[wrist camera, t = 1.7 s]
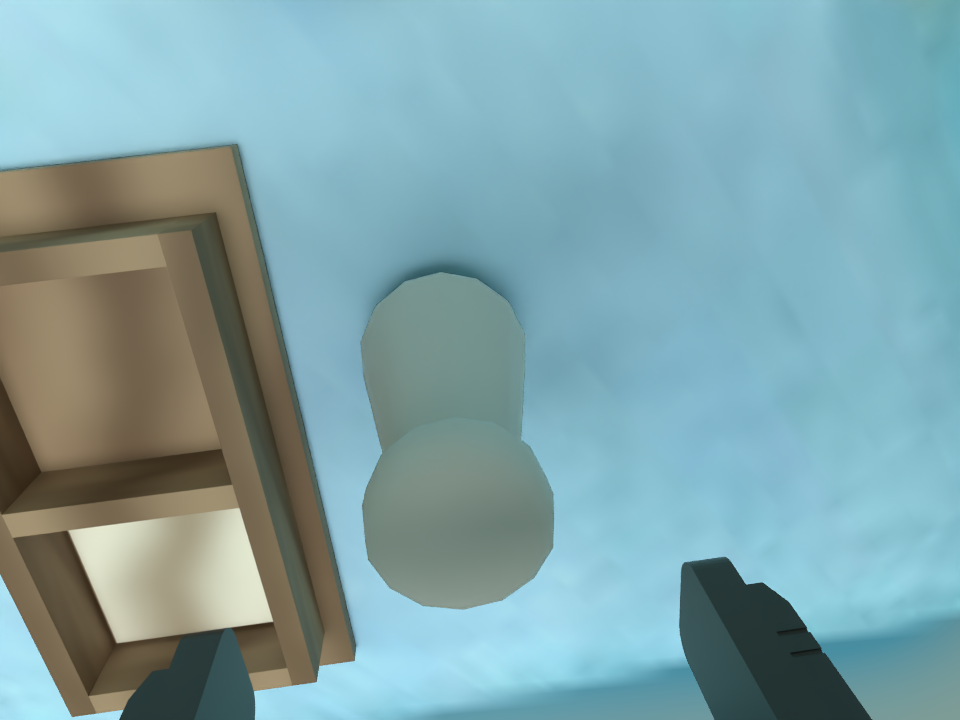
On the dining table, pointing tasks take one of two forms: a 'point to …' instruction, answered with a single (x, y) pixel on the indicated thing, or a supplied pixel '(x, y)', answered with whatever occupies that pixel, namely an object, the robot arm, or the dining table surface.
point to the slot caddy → (153, 431)
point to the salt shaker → (451, 446)
